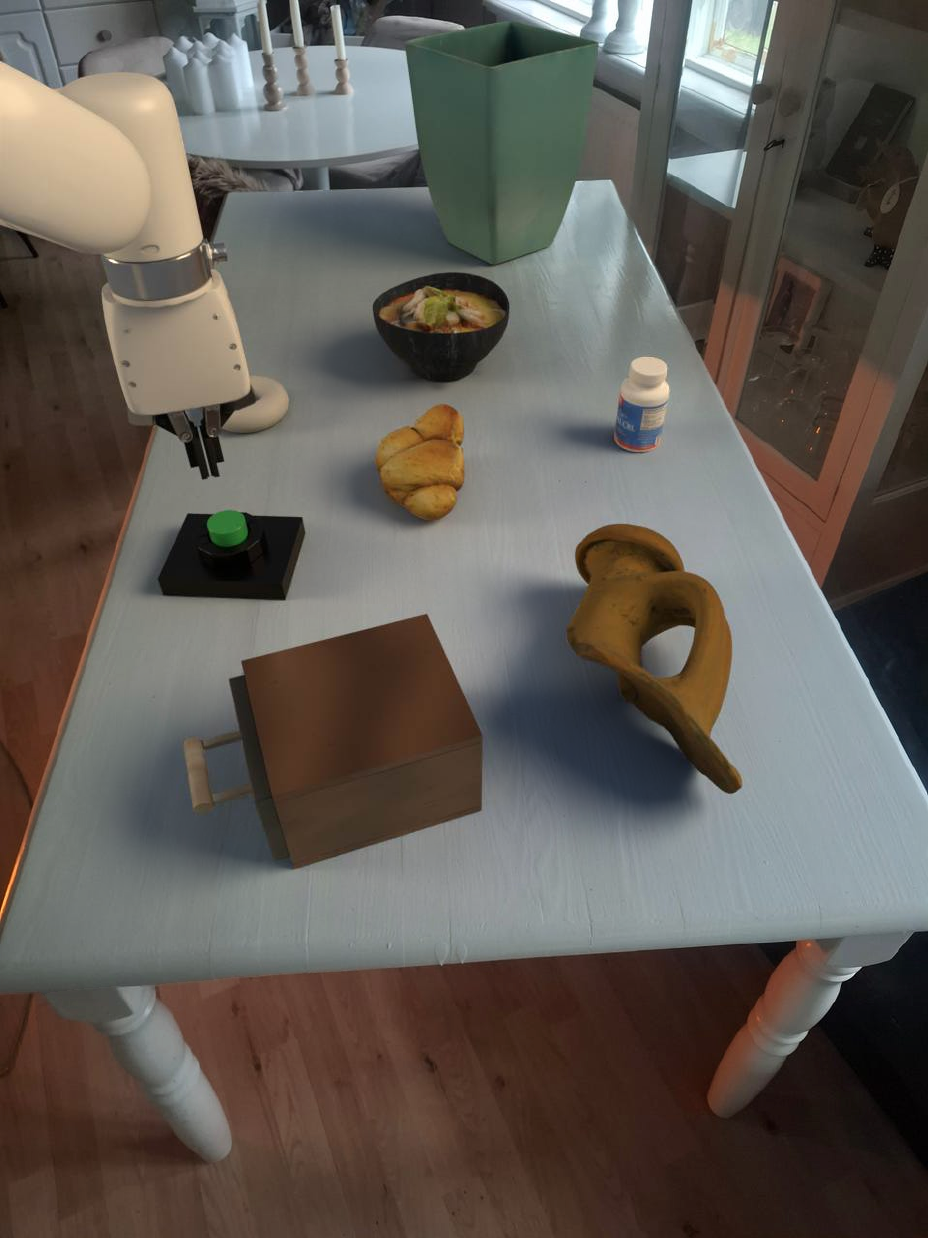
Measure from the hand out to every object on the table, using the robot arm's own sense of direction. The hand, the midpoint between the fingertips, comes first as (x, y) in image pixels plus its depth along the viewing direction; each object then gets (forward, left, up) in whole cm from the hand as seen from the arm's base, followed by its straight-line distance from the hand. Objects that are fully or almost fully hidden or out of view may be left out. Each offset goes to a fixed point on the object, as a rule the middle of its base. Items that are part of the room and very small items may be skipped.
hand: (208, 469), depth 78 cm
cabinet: (+24, -17, -12) cm, 32 cm away
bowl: (+3, +44, -12) cm, 46 cm away
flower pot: (-5, +83, -12) cm, 84 cm away
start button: (0, 0, -8) cm, 8 cm away
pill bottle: (+31, +37, -12) cm, 50 cm away
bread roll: (+12, +18, -12) cm, 25 cm away
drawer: (+21, -19, -11) cm, 31 cm away
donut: (-14, +24, -12) cm, 30 cm away
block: (0, 0, -12) cm, 12 cm away
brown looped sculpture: (+42, 0, -12) cm, 44 cm away
